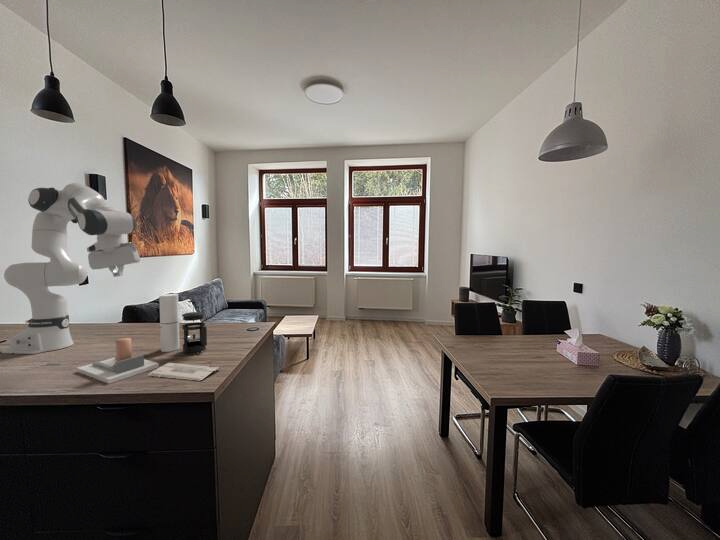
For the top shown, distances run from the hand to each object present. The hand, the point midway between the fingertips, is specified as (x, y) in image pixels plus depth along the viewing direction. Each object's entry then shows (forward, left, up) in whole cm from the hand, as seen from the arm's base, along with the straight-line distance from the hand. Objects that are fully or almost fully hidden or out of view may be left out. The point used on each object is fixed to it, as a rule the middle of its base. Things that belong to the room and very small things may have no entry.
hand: (118, 276), depth 128 cm
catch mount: (+12, -23, -33) cm, 42 cm away
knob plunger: (+16, -25, -32) cm, 43 cm away
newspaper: (+38, -29, -34) cm, 59 cm away
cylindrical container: (+21, -1, -34) cm, 39 cm away
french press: (+33, -5, -34) cm, 47 cm away
